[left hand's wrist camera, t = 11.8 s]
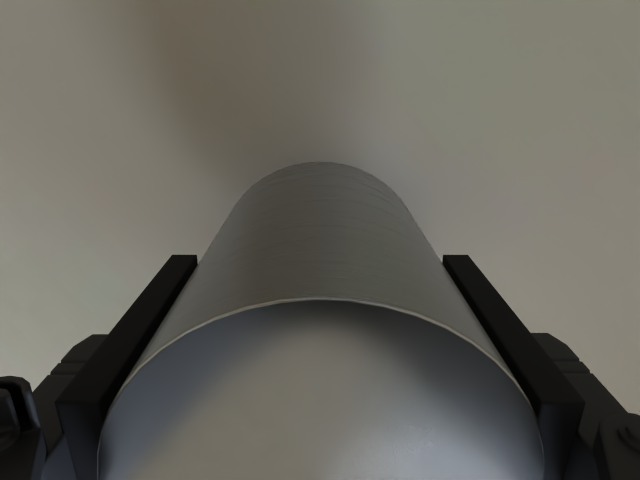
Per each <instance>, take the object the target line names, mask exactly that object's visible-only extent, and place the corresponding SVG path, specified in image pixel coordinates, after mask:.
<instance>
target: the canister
mask: <svg viewBox="0 0 640 480" xmlns="http://www.w3.org/2000/svg"><path fill="white" fill-rule="evenodd" d="M544 474H545V458H544V443H543V439H542V435H541V431H540V427H539V423H538V420H537V418H536V415H535V413H534V411H533V409H532V406H531V404H530V402H529V399H528V398H527V396H526V395H525V393H524V392H523V390H522V388H521V387H520V385H519V384H518V382H517V381H516V379H515V377H514V376H513V374H512V373H511V371H510V370H509V368H508V366H507V365H506V363H505V362H504V360H503V359H502V357H501V355H500V354H499V352H498V351H497V349H496V348H495V346H494V344H493V343H492V341H491V340H490V338H489V336H488V335H487V333H486V332H485V330H484V329H483V327H482V325H481V324H480V322H479V321H478V319H477V318H476V316H475V314H474V313H473V311H472V310H471V308H470V307H469V305H468V303H467V302H466V300H465V299H464V297H463V296H462V294H461V292H460V291H459V289H458V288H457V286H456V285H455V283H454V281H453V280H452V278H451V277H450V275H449V273H448V272H447V270H446V269H445V267H444V266H443V264H442V262H441V261H440V259H439V258H438V256H437V255H436V253H435V251H434V250H433V248H432V247H431V245H430V244H429V242H428V240H427V239H426V237H425V236H424V234H423V233H422V231H421V229H420V228H419V226H418V225H417V223H416V222H415V220H414V218H413V217H412V215H411V214H410V212H409V211H408V209H407V208H406V206H405V204H404V203H403V201H402V200H401V199H400V198H399V197H398V196H397V195H396V193H395V192H394V191H393V190H392V189H390V188H389V187H388V186H387V185H386V184H385V183H383V182H382V181H380V180H379V179H377V178H376V177H374V176H373V175H371V174H369V173H367V172H364V171H362V170H360V169H357V168H354V167H351V166H348V165H344V164H338V163H332V162H310V163H302V164H297V165H293V166H289V167H286V168H283V169H281V170H278V171H276V172H274V173H272V174H270V175H268V176H266V177H264V178H263V179H262V180H260V181H259V182H257V183H256V184H255V185H253V186H252V187H251V188H250V189H249V190H248V191H247V192H246V193H245V194H244V195H243V196H242V197H241V199H240V200H239V201H238V202H237V204H236V205H235V206H234V208H233V210H232V211H231V213H230V214H229V216H228V218H227V219H226V221H225V222H224V224H223V226H222V227H221V229H220V230H219V232H218V234H217V235H216V237H215V238H214V240H213V242H212V243H211V245H210V246H209V248H208V249H207V251H206V253H205V254H204V256H203V257H202V259H201V261H200V262H199V264H198V265H197V267H196V269H195V270H194V272H193V273H192V275H191V277H190V278H189V280H188V281H187V283H186V285H185V286H184V288H183V289H182V291H181V293H180V294H179V296H178V297H177V299H176V301H175V302H174V304H173V305H172V307H171V309H170V310H169V312H168V313H167V315H166V317H165V318H164V320H163V321H162V323H161V324H160V326H159V328H158V329H157V331H156V332H155V334H154V336H153V337H152V339H151V340H150V342H149V344H148V345H147V347H146V348H145V350H144V352H143V353H142V355H141V356H140V358H139V360H138V361H137V363H136V364H135V366H134V368H133V369H132V371H131V372H130V374H129V376H128V377H127V379H126V380H125V382H124V384H123V385H122V387H121V389H120V390H119V392H118V394H117V395H116V397H115V399H114V401H113V402H112V404H111V406H110V407H109V410H108V413H107V415H106V418H105V421H104V424H103V426H102V429H101V434H100V439H99V445H98V450H97V479H98V480H544Z"/></svg>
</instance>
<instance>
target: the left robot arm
mask: <svg viewBox="0 0 640 480" xmlns="http://www.w3.org/2000/svg"><path fill="white" fill-rule="evenodd" d="M442 264H443V266H444V267H445V269H446V270H447V272H448V273H449V275H450V277H451V278H452V280H453V281H454V283H455V285H456V286H457V288H458V289H459V291H460V292H461V294H462V296H463V297H464V299H465V300H466V302H467V303H468V305H469V307H470V308H471V310H472V311H473V313H474V314H475V316H476V318H477V319H478V321H479V322H480V324H481V325H482V327H483V329H484V330H485V332H486V333H487V335H488V336H489V338H490V340H491V341H492V343H493V344H494V346H495V348H496V349H497V351H498V352H499V354H500V355H501V357H502V359H503V360H504V362H505V363H506V365H507V366H508V368H509V370H510V371H511V373H512V374H513V376H514V377H515V379H516V381H517V382H518V384H519V385H520V387H521V388H522V390H523V392H524V393H525V395H526V396H527V398H528V399H529V402H530V404H531V406H532V409H533V411H534V413H535V415H536V418H537V420H538V423H539V427H540V431H541V435H542V439H543V443H544V458H545V474H544V480H640V415H637V414H632V413H628V412H627V411H626V410H625V409H624V408H623V407H622V406H621V405H620V404H619V402H618V401H617V400H616V399H615V398H614V397H613V396H612V395H611V394H610V392H609V391H608V390H607V389H606V388H605V387H604V386H603V385H602V384H601V382H600V381H599V380H598V379H597V378H596V377H595V376H594V375H593V374H590V370H589V369H588V368H587V367H586V366H585V365H584V364H583V362H580V361H579V358H578V357H577V356H576V355H575V354H574V352H573V351H572V350H571V349H570V348H569V347H568V346H567V345H566V344H564V343H563V342H561V341H560V340H558V339H556V338H555V337H553V336H552V335H550V334H548V333H530V332H529V331H528V329H527V328H526V327H525V326H524V324H523V323H522V322H521V321H520V319H519V318H518V317H517V316H516V314H515V313H514V312H513V311H512V309H511V308H510V307H509V306H508V304H507V303H506V302H505V301H504V299H503V298H502V297H501V296H500V294H499V293H498V292H497V291H496V289H495V288H494V287H493V286H492V284H491V283H490V282H489V281H488V280H487V278H486V277H485V276H484V275H483V273H482V272H481V271H480V270H479V268H478V267H477V266H476V265H475V263H474V262H473V261H472V260H471V258H470V257H469V256H468V255H443V263H442ZM197 265H198V263H197V255H172V256H171V257H170V258H169V260H168V261H167V262H166V263H165V265H164V266H163V267H162V268H161V270H160V271H159V272H158V273H157V275H156V276H155V277H154V278H153V280H152V281H151V282H150V283H149V284H148V286H147V287H146V288H145V289H144V291H143V292H142V293H141V294H140V296H139V297H138V298H137V299H136V301H135V302H134V303H133V304H132V306H131V307H130V308H129V309H128V311H127V312H126V313H125V314H124V316H123V317H122V318H121V319H120V321H119V322H118V323H117V324H116V326H115V327H114V328H113V329H112V331H111V332H110V333H109V334H93V335H91V336H89V337H88V338H86V339H85V340H83V341H81V342H80V343H78V344H77V345H75V346H74V347H73V348H72V349H71V350H70V351H69V352H68V353H67V354H66V355H65V357H64V358H63V359H62V360H61V363H58V364H57V366H56V367H55V368H54V369H53V370H52V371H51V374H50V375H48V376H47V377H46V378H45V379H44V380H43V381H42V382H41V383H40V385H39V386H38V387H37V388H36V389H35V390H34V391H33V392H32V390H31V386H30V383H29V382H28V381H26V380H25V379H24V378H22V377H15V376H4V377H0V480H98V479H97V450H98V445H99V439H100V434H101V429H102V426H103V424H104V421H105V418H106V415H107V413H108V410H109V407H110V406H111V404H112V402H113V401H114V399H115V397H116V395H117V394H118V392H119V390H120V389H121V387H122V385H123V384H124V382H125V380H126V379H127V377H128V376H129V374H130V372H131V371H132V369H133V368H134V366H135V364H136V363H137V361H138V360H139V358H140V356H141V355H142V353H143V352H144V350H145V348H146V347H147V345H148V344H149V342H150V340H151V339H152V337H153V336H154V334H155V332H156V331H157V329H158V328H159V326H160V324H161V323H162V321H163V320H164V318H165V317H166V315H167V313H168V312H169V310H170V309H171V307H172V305H173V304H174V302H175V301H176V299H177V297H178V296H179V294H180V293H181V291H182V289H183V288H184V286H185V285H186V283H187V281H188V280H189V278H190V277H191V275H192V273H193V272H194V270H195V269H196V267H197Z"/></svg>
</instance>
